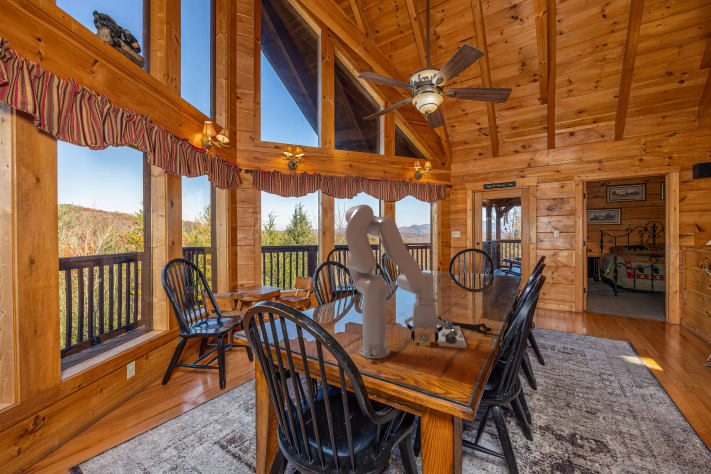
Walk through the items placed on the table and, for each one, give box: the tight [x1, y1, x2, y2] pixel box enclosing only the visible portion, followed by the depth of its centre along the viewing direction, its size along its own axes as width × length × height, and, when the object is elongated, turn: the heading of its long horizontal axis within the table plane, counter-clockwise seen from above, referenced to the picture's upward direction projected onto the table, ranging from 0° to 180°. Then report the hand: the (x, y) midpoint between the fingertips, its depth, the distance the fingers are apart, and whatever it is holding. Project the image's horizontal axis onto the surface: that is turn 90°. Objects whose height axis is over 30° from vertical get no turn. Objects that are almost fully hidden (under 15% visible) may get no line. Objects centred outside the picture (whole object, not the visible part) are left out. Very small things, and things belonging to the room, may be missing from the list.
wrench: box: [437, 316, 492, 335], centre depth 146 cm, size 5×5×30 cm
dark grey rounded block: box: [445, 329, 458, 344], centre depth 124 cm, size 6×4×5 cm, turn 137°
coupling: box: [418, 328, 431, 347], centre depth 125 cm, size 7×4×6 cm, turn 167°
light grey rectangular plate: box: [437, 324, 467, 349], centre depth 133 cm, size 24×11×2 cm, turn 167°
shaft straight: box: [444, 317, 453, 329], centre depth 141 cm, size 8×4×5 cm, turn 167°
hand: (424, 340), depth 125 cm, fingers open, 9 cm apart
